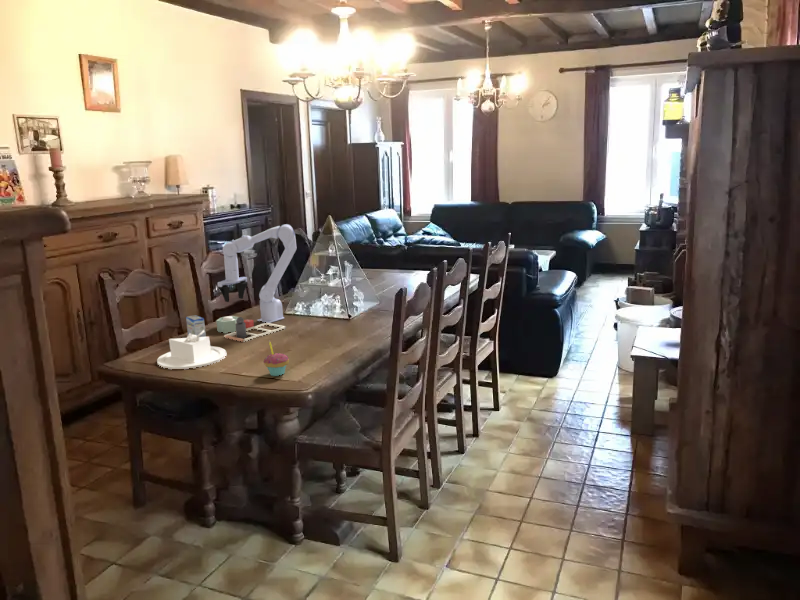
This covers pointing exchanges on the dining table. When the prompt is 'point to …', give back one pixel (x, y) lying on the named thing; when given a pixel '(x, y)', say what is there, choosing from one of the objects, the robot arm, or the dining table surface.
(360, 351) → the dining table surface
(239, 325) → the pawn
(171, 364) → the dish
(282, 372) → the cupcake
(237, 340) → the game track
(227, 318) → the dome
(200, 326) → the medicine box
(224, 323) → the dome base
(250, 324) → the red die
